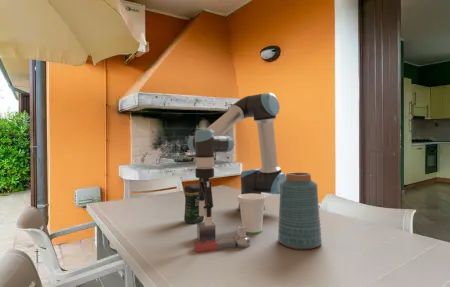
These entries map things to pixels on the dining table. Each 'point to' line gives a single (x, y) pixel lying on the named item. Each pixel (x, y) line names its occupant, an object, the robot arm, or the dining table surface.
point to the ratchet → (224, 242)
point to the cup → (252, 211)
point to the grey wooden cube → (205, 232)
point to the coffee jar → (192, 204)
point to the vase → (299, 212)
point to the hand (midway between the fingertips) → (205, 220)
